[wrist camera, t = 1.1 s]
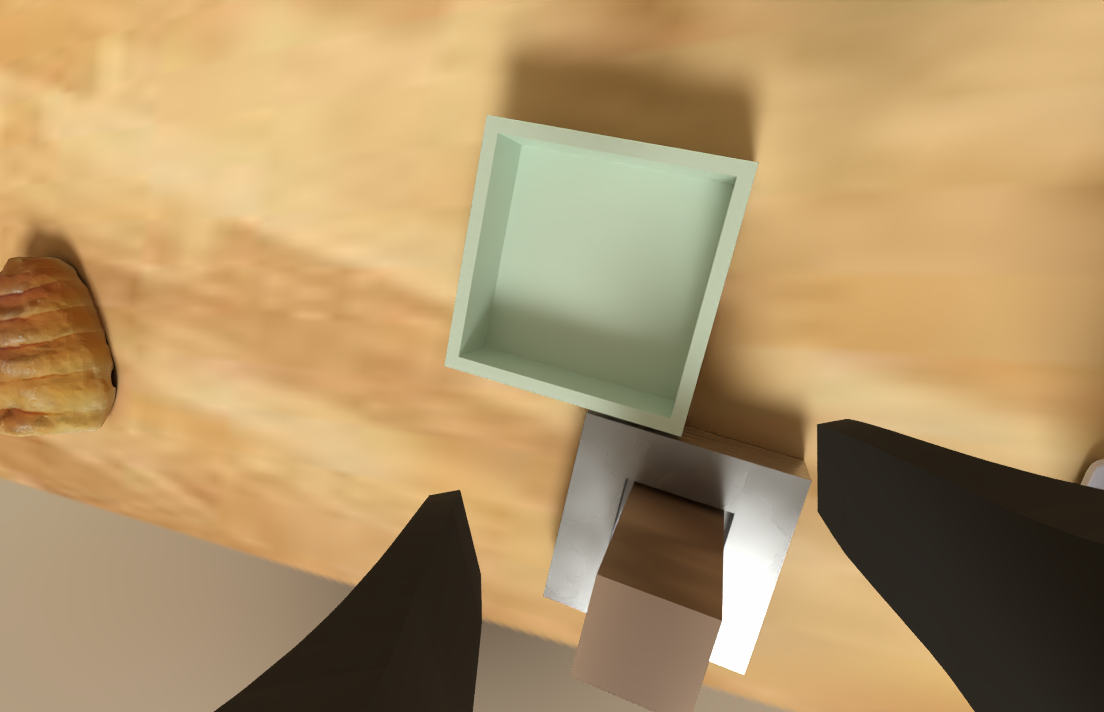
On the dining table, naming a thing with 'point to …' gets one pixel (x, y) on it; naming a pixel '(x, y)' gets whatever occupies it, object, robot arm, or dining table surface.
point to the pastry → (51, 351)
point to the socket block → (695, 473)
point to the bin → (595, 268)
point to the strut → (655, 602)
